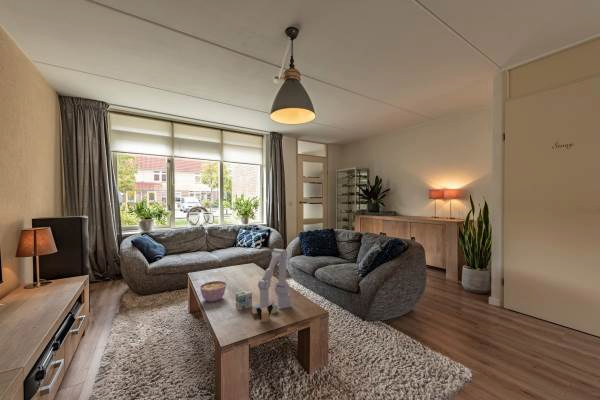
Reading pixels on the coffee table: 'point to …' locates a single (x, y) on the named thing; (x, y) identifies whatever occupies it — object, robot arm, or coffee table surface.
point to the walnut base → (255, 313)
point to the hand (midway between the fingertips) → (264, 317)
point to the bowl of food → (213, 290)
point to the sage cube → (274, 308)
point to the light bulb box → (243, 300)
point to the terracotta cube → (264, 316)
